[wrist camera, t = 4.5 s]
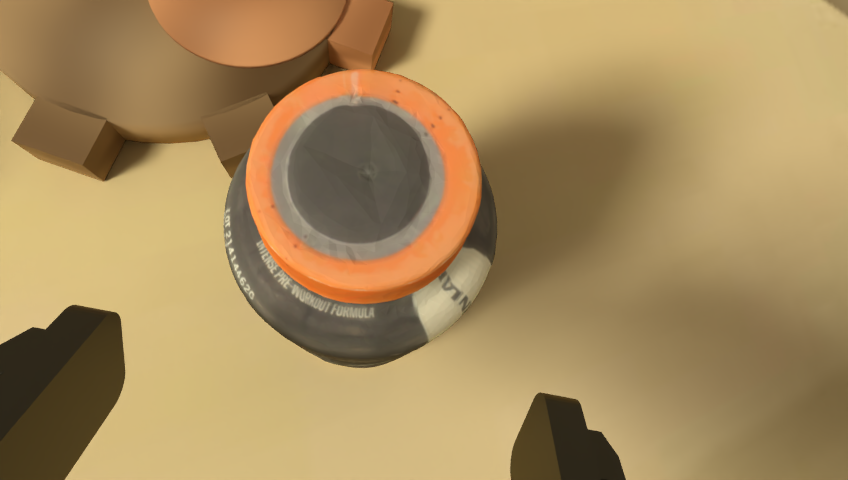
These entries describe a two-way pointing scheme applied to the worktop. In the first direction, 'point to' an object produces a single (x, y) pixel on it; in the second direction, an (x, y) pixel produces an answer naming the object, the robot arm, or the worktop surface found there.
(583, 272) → the worktop surface
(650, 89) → the worktop surface
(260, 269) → the pill bottle
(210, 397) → the worktop surface
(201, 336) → the worktop surface
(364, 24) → the sprocket
